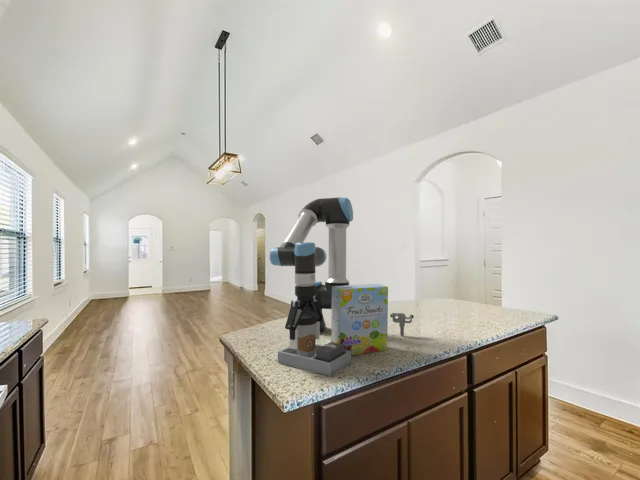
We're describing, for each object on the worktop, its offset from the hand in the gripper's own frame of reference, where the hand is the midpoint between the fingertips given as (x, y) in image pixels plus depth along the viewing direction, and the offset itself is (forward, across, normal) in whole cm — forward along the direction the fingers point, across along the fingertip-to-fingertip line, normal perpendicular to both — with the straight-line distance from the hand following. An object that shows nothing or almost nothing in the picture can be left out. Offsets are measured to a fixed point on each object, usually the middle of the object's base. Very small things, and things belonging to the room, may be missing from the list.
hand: (305, 343), depth 117 cm
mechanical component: (+6, +49, -19) cm, 53 cm away
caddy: (+6, 0, -4) cm, 7 cm away
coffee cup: (+6, 0, 0) cm, 6 cm away
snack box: (+7, +20, -12) cm, 24 cm away
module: (+6, 0, -11) cm, 12 cm away
